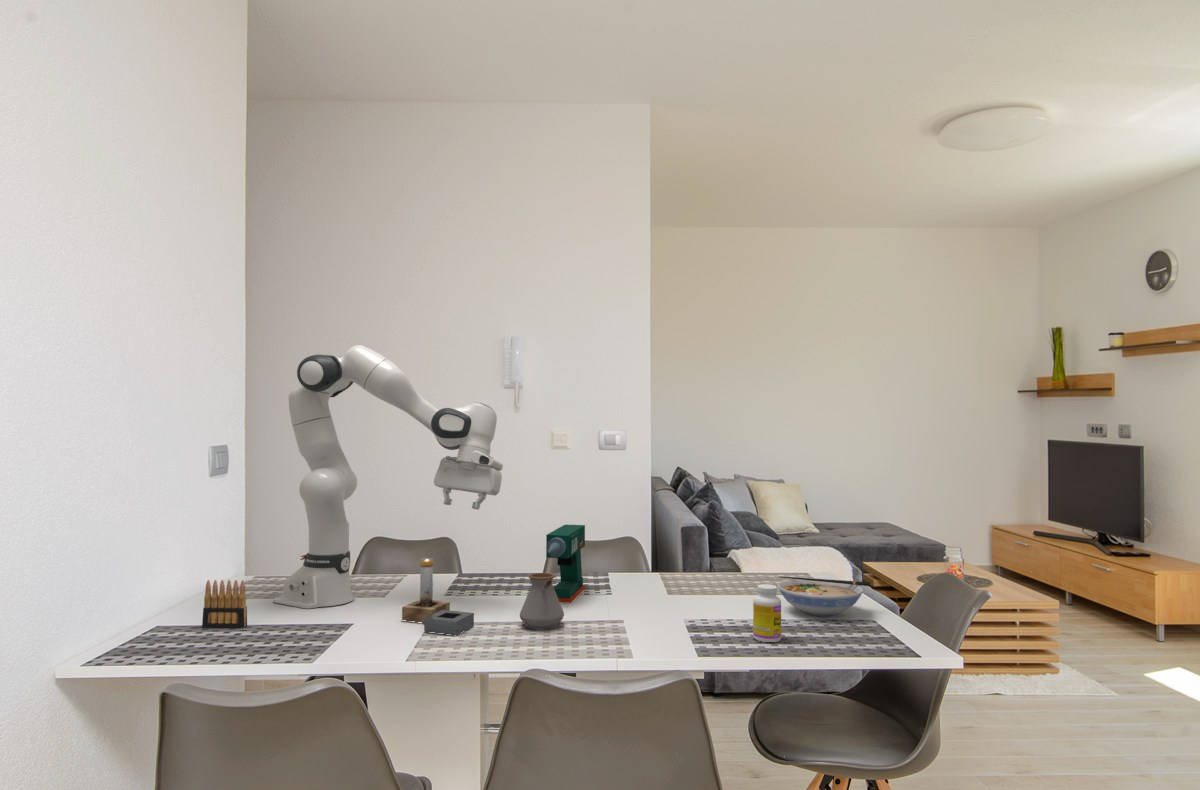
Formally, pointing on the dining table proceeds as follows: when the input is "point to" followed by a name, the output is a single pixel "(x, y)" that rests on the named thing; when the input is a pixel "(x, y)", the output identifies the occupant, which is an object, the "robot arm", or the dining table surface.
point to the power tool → (567, 559)
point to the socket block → (449, 622)
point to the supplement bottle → (767, 614)
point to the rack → (422, 610)
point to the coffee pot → (541, 603)
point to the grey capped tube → (426, 582)
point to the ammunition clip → (224, 606)
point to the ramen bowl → (821, 594)
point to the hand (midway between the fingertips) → (461, 506)
